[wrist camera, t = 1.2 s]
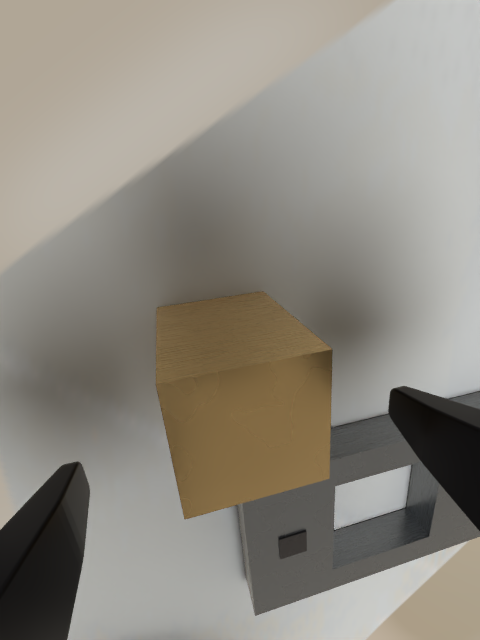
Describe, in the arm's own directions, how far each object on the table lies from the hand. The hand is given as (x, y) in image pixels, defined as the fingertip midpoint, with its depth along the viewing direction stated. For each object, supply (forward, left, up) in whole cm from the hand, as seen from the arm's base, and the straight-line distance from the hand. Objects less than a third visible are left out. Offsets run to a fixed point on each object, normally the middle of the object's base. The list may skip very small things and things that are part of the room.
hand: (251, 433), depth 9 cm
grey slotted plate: (-11, -8, -6) cm, 15 cm away
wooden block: (0, 0, -6) cm, 6 cm away
